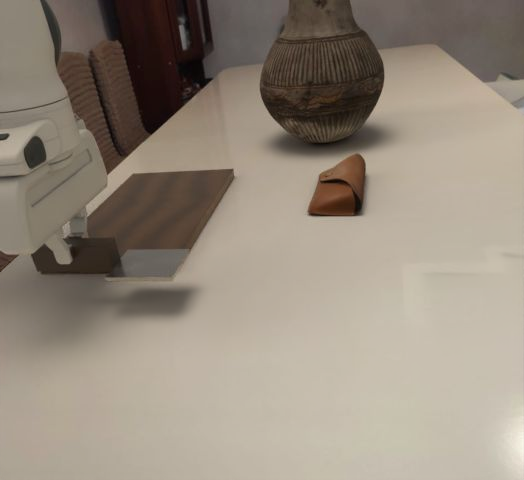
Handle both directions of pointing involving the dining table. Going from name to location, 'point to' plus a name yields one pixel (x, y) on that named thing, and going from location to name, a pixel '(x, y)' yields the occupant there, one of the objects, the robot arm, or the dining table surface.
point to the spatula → (114, 260)
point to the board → (158, 210)
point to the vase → (321, 72)
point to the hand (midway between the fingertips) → (74, 254)
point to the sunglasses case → (340, 188)
